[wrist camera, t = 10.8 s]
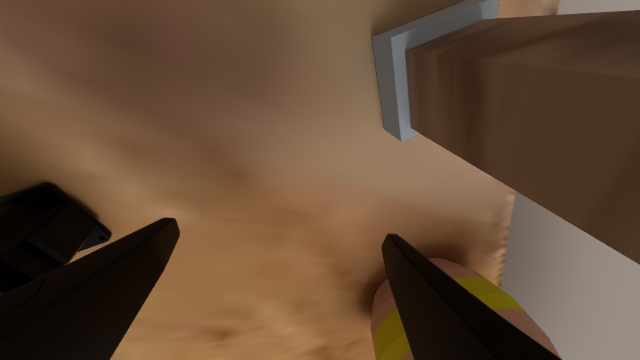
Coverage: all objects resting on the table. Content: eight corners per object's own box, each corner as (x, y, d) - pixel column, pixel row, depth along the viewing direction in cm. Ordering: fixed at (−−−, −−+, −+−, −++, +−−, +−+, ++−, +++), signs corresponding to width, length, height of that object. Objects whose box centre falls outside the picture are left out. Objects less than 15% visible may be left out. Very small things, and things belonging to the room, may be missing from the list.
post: (410, 127, 19) (686, 292, 7) (404, 50, 16) (922, 111, 4) (474, 101, 20) (851, 216, 7) (482, 19, 16) (1226, -24, 4)
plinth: (384, 129, 22) (401, 141, 20) (371, 37, 18) (390, 37, 15) (459, 99, 23) (484, 107, 20) (465, 0, 18) (499, -5, 16)
